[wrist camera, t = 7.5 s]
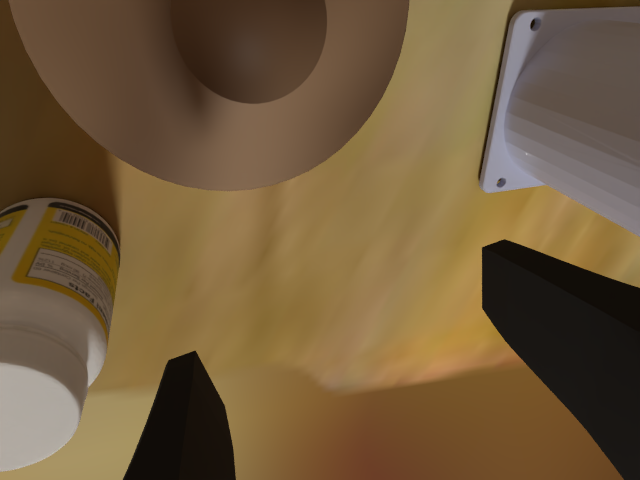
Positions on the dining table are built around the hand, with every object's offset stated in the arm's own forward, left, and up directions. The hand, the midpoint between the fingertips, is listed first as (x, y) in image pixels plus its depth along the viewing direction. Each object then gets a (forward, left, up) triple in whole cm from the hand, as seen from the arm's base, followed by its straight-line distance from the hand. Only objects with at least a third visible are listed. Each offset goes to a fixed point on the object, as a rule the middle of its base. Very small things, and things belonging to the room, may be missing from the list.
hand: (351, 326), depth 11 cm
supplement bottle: (+9, +2, -10) cm, 14 cm away
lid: (+2, -6, -6) cm, 9 cm away
